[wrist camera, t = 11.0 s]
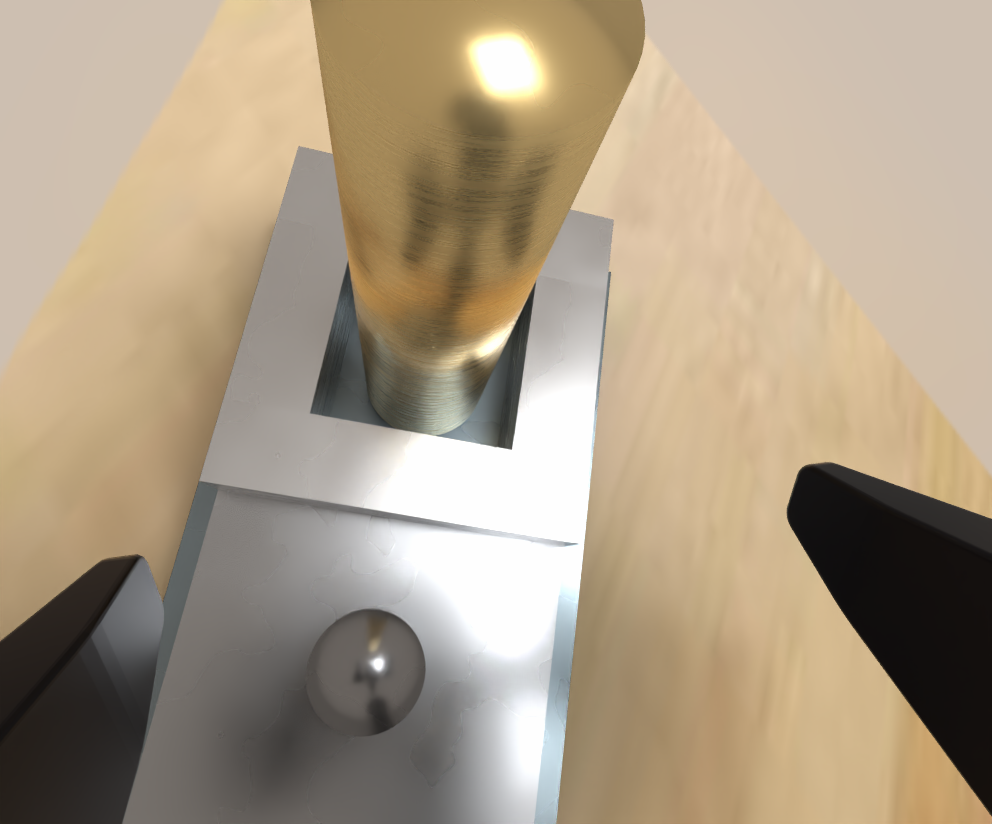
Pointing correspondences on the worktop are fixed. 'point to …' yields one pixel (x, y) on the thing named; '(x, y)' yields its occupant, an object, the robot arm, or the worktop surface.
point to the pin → (460, 173)
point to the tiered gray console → (378, 563)
